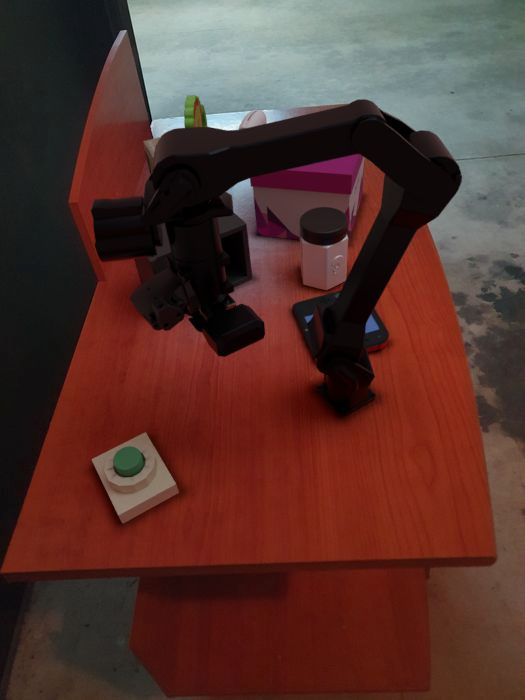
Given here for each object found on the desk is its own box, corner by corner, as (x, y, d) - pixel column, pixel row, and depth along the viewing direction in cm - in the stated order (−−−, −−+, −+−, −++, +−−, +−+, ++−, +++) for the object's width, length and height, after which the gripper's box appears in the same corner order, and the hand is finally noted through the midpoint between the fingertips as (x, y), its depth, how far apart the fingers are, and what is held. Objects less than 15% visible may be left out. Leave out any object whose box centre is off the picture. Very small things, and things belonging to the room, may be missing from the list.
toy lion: (195, 141, 148) (186, 80, 137) (216, 140, 147) (208, 79, 136) (185, 171, 137) (173, 108, 126) (207, 171, 136) (198, 107, 125)
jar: (317, 296, 101) (317, 239, 92) (290, 274, 106) (288, 218, 97) (356, 277, 104) (360, 220, 95) (328, 256, 109) (329, 200, 100)
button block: (179, 492, 75) (173, 476, 72) (122, 524, 72) (114, 508, 69) (148, 441, 81) (142, 424, 78) (95, 468, 78) (87, 451, 76)
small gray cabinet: (252, 278, 106) (246, 223, 97) (164, 317, 100) (150, 261, 91) (226, 253, 112) (218, 199, 103) (142, 288, 106) (126, 233, 98)
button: (148, 468, 74) (145, 460, 72) (122, 482, 72) (119, 474, 71) (137, 449, 76) (134, 441, 75) (112, 462, 75) (108, 454, 73)
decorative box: (348, 245, 111) (352, 174, 100) (255, 236, 115) (249, 167, 105) (363, 195, 123) (368, 127, 113) (279, 188, 128) (275, 122, 117)
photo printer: (256, 177, 132) (252, 124, 124) (239, 175, 134) (234, 123, 125) (271, 156, 139) (268, 105, 130) (254, 154, 140) (250, 104, 131)
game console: (291, 308, 99) (290, 298, 97) (360, 293, 101) (361, 283, 99) (315, 366, 89) (315, 356, 87) (392, 349, 90) (394, 339, 89)
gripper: (100, 235, 67) (130, 331, 78) (165, 321, 56) (191, 420, 67) (184, 204, 71) (202, 300, 82) (262, 279, 59) (271, 379, 70)
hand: (214, 346), depth 75 cm, fingers closed
